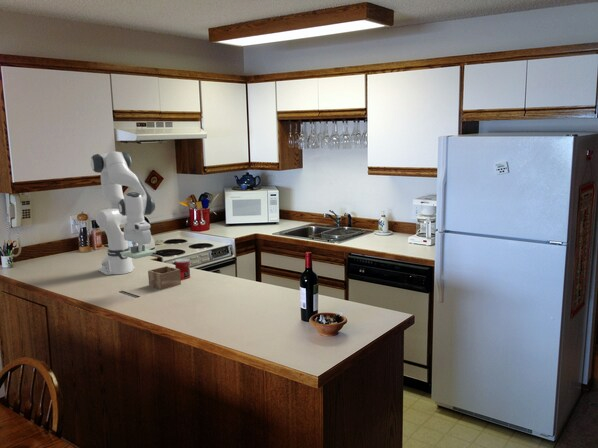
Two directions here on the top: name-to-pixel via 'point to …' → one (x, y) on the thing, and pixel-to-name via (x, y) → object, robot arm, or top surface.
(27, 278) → the top surface
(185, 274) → the canned food
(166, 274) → the crate
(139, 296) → the dark grey flat plate
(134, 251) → the lid
